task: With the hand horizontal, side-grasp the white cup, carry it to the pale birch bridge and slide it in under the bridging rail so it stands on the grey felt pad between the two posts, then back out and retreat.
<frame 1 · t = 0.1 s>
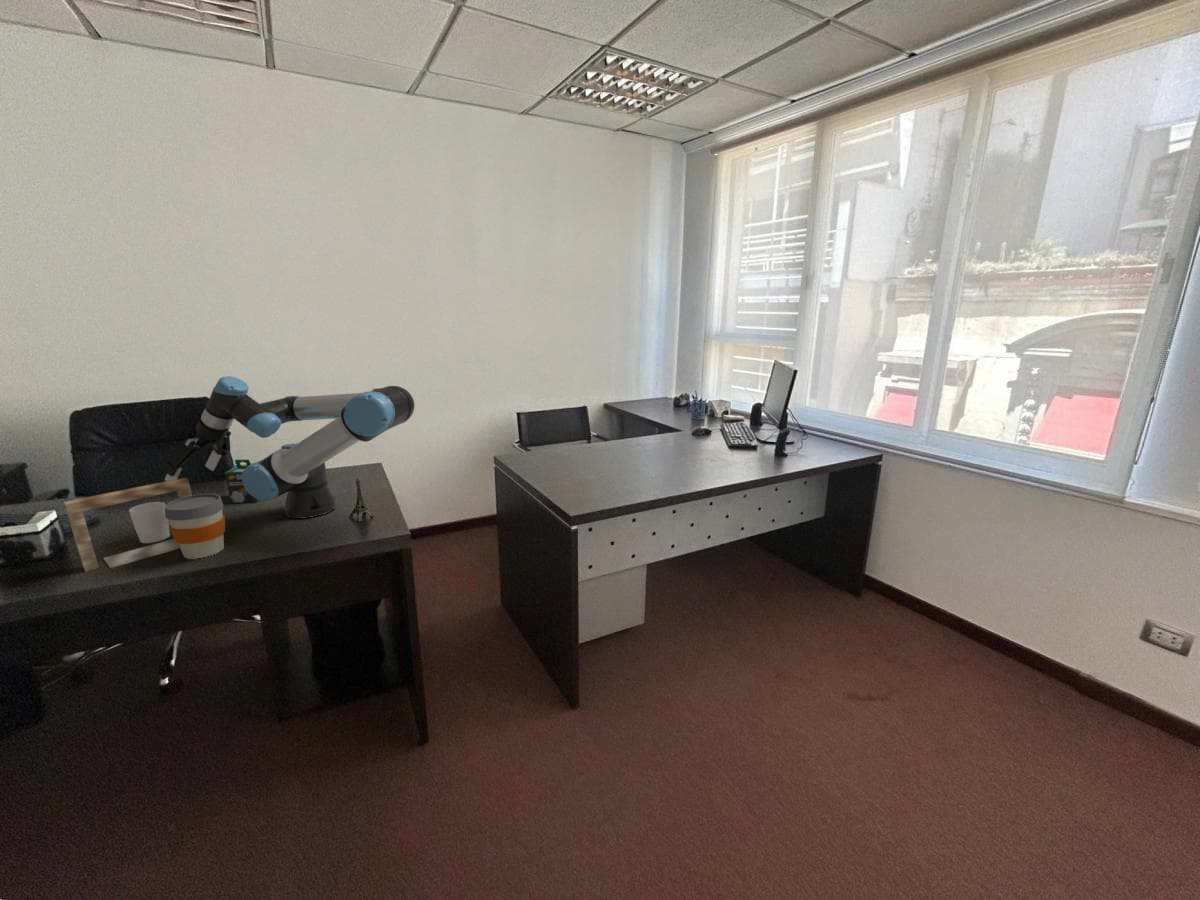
hand: (190, 474, 156), 15 cm above the table, tool tilted 35°, fingers open, 13 cm apart
reusable coffee cup: (204, 552, 140), on the table
white cup: (155, 539, 147), on the table
chalk box: (251, 498, 179), on the table
bridge: (146, 552, 139), on the table
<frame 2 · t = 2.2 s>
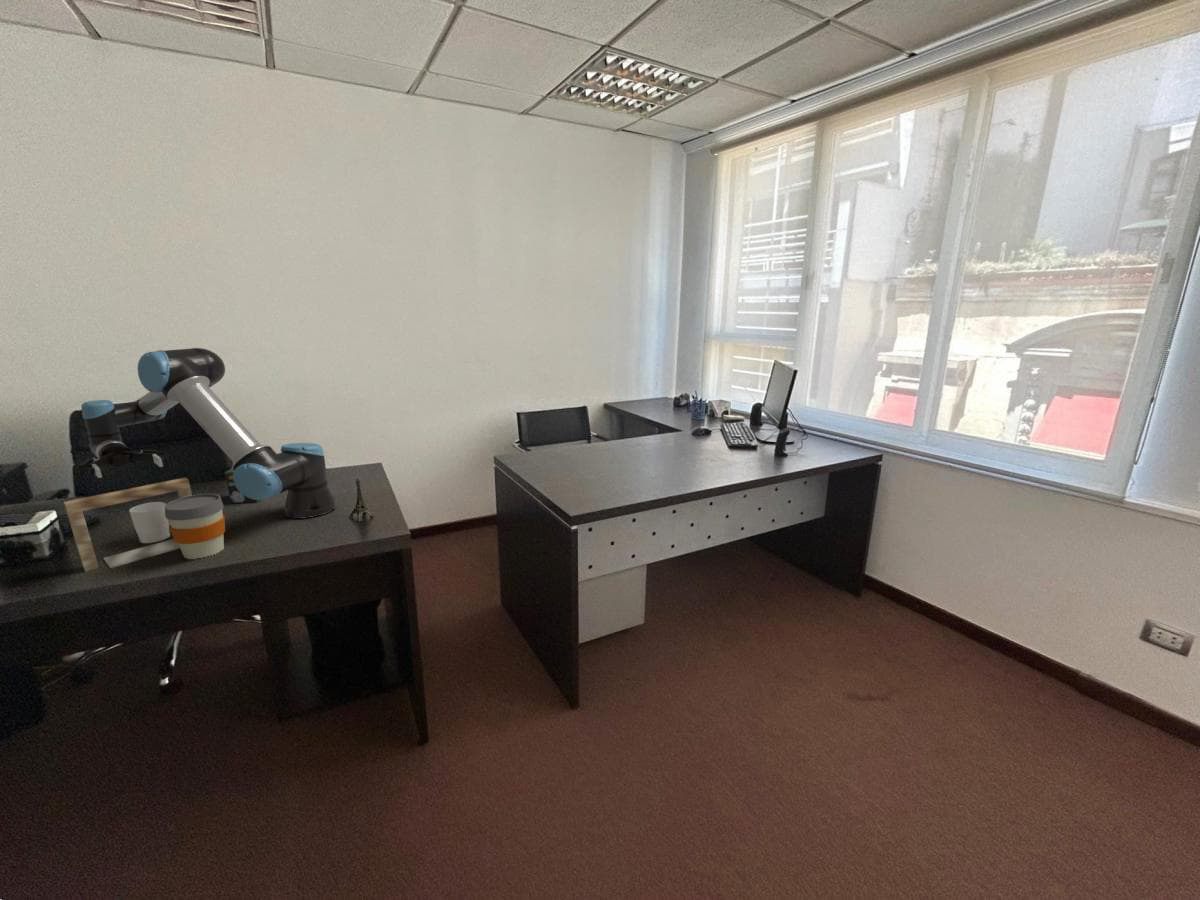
hand: (130, 467, 147), 20 cm above the table, tool horizontal, fingers open, 13 cm apart
nothing on the table moved.
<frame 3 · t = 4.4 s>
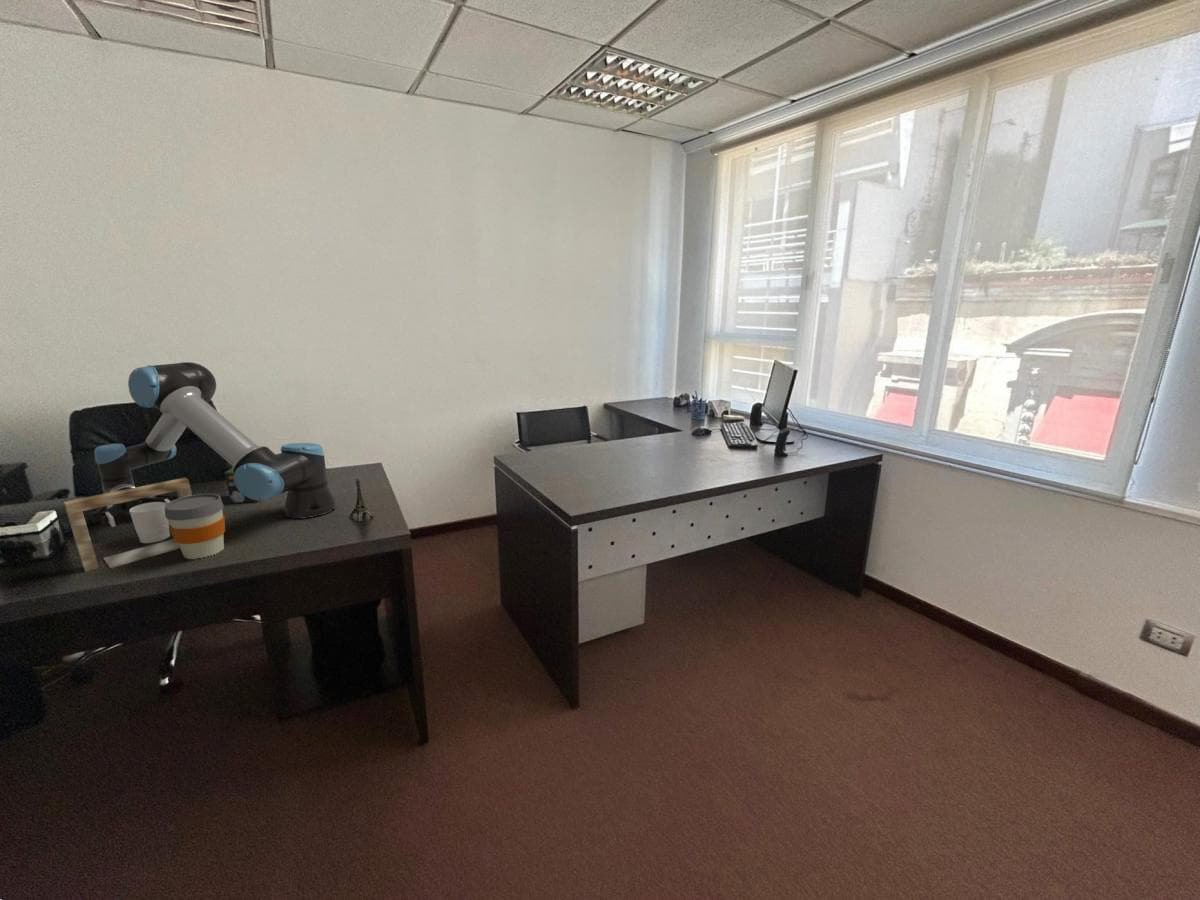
hand: (143, 515, 149), 6 cm above the table, tool horizontal, fingers open, 13 cm apart
nothing on the table moved.
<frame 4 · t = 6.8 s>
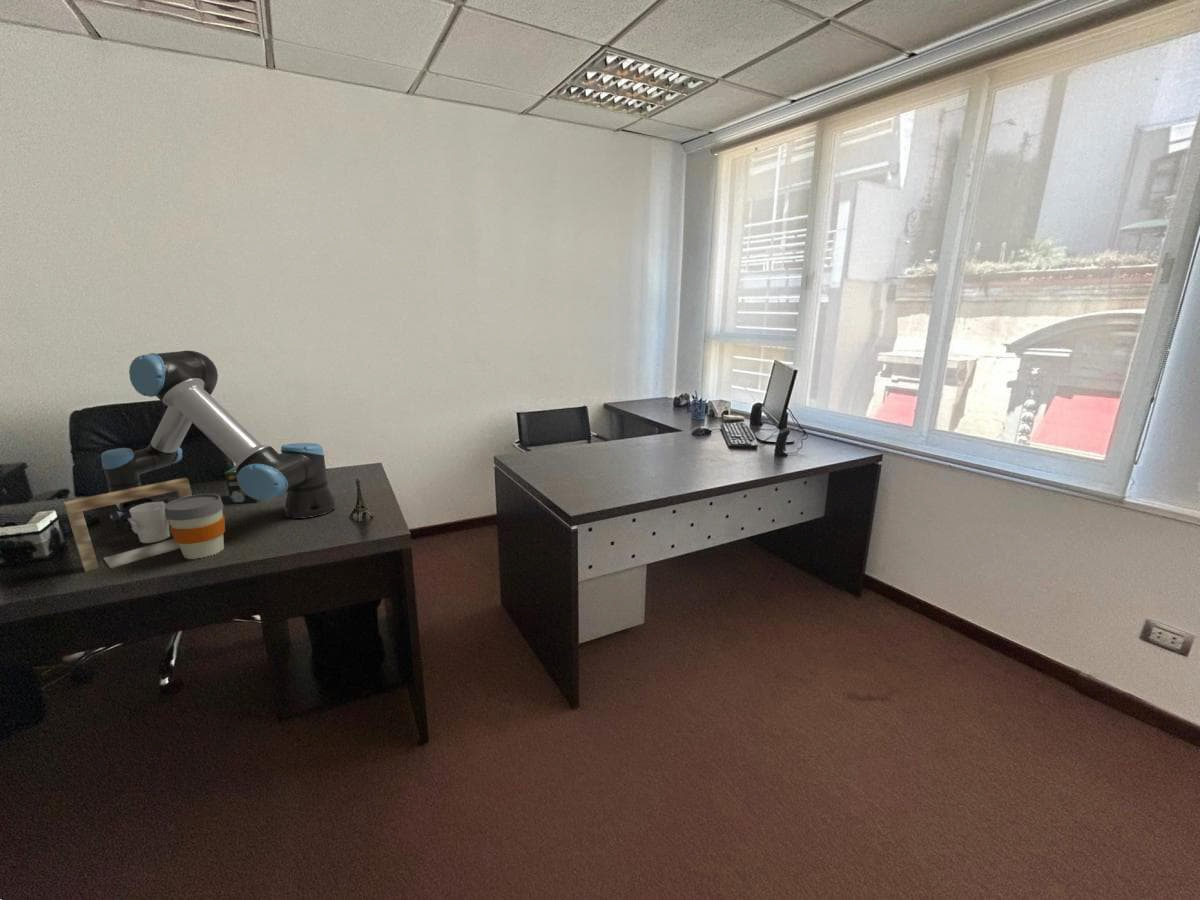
hand: (155, 523, 143), 6 cm above the table, tool horizontal, fingers closed on white cup, 7 cm apart
white cup: (155, 539, 147), on the table, touching gripper
everything else where it was.
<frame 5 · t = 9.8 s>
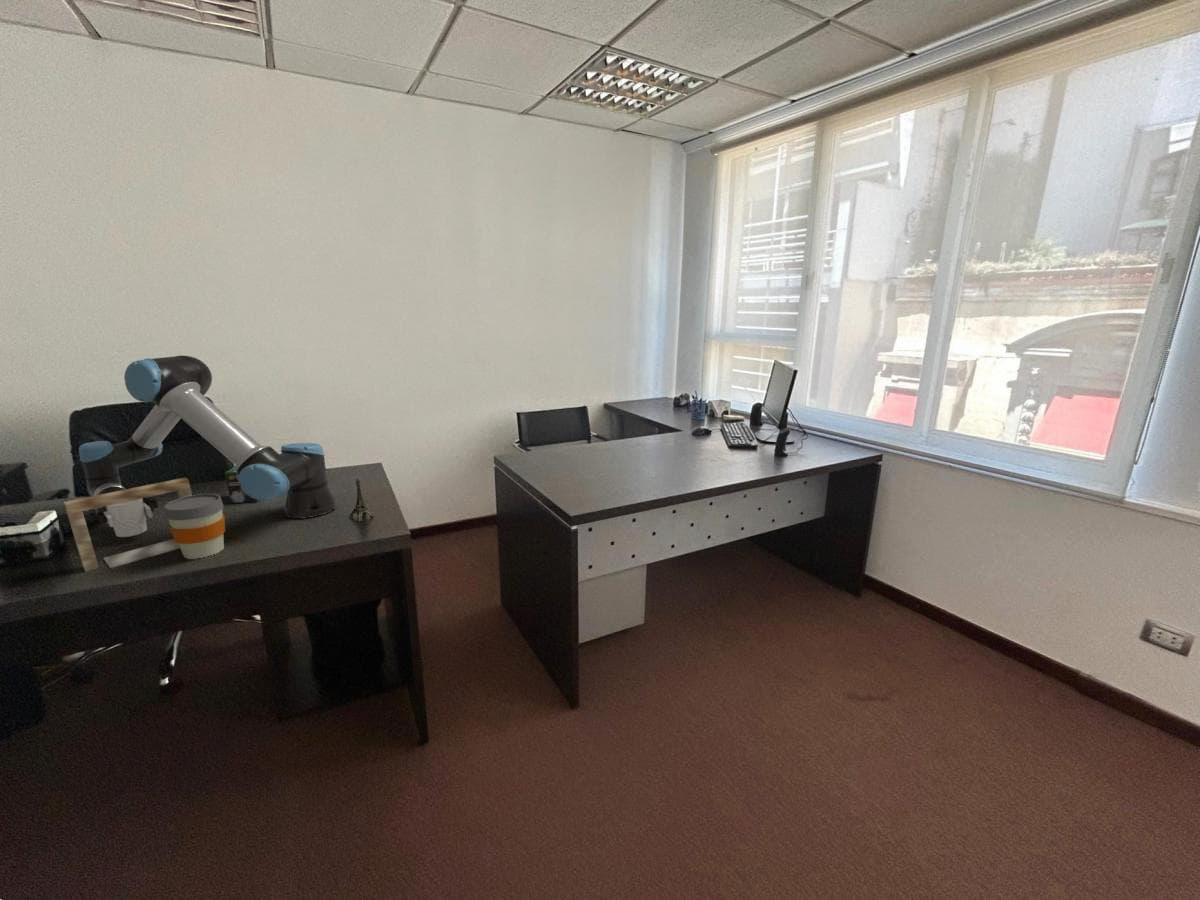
hand: (131, 517, 141), 8 cm above the table, tool horizontal, fingers closed on white cup, 7 cm apart
white cup: (132, 532, 146), point 2 cm above the table, touching gripper
everything else where it was.
when the fingers open (7 cm above the table, at t = 12.9 s): white cup drops 1 cm, resting on bridge.
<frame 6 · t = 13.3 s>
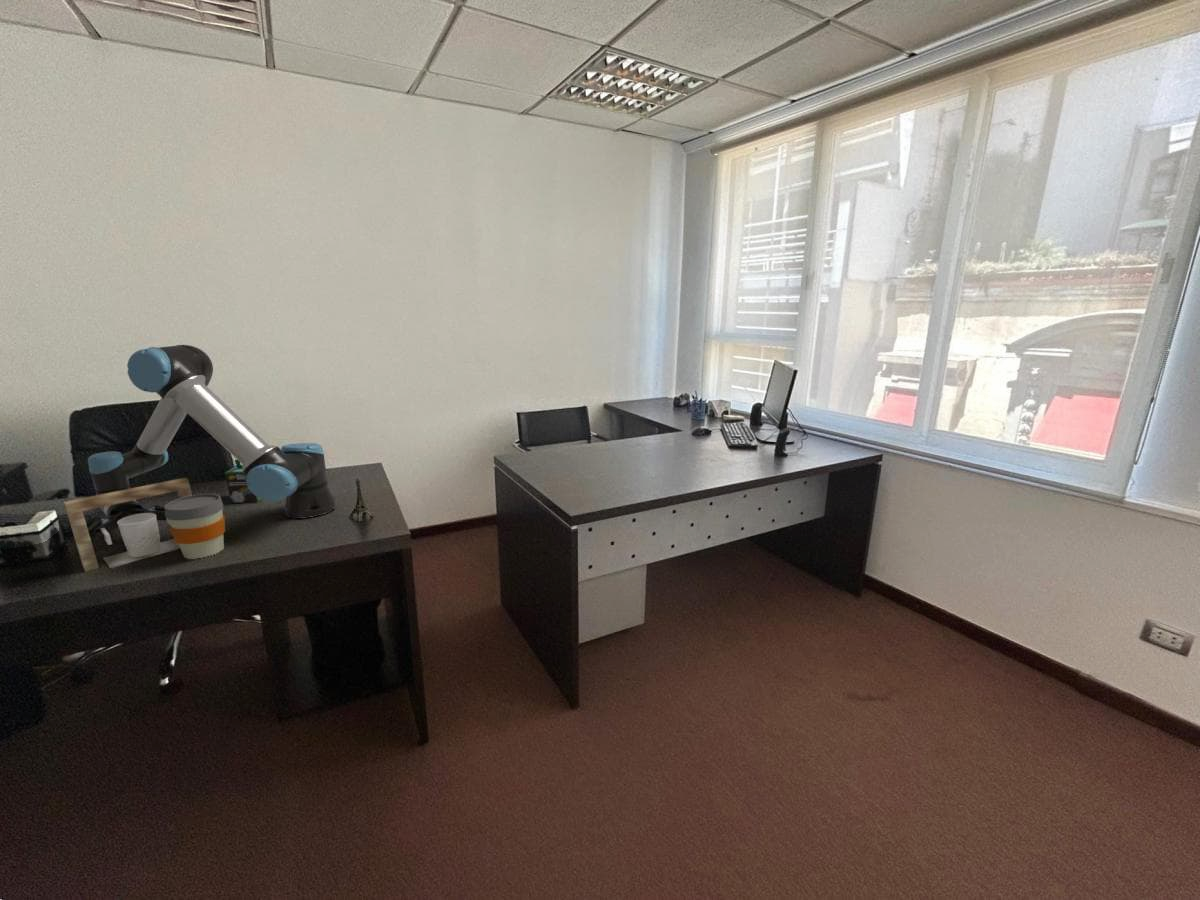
hand: (142, 531, 135), 7 cm above the table, tool horizontal, fingers open, 13 cm apart
white cup: (145, 552, 139), resting on bridge
everything else where it was.
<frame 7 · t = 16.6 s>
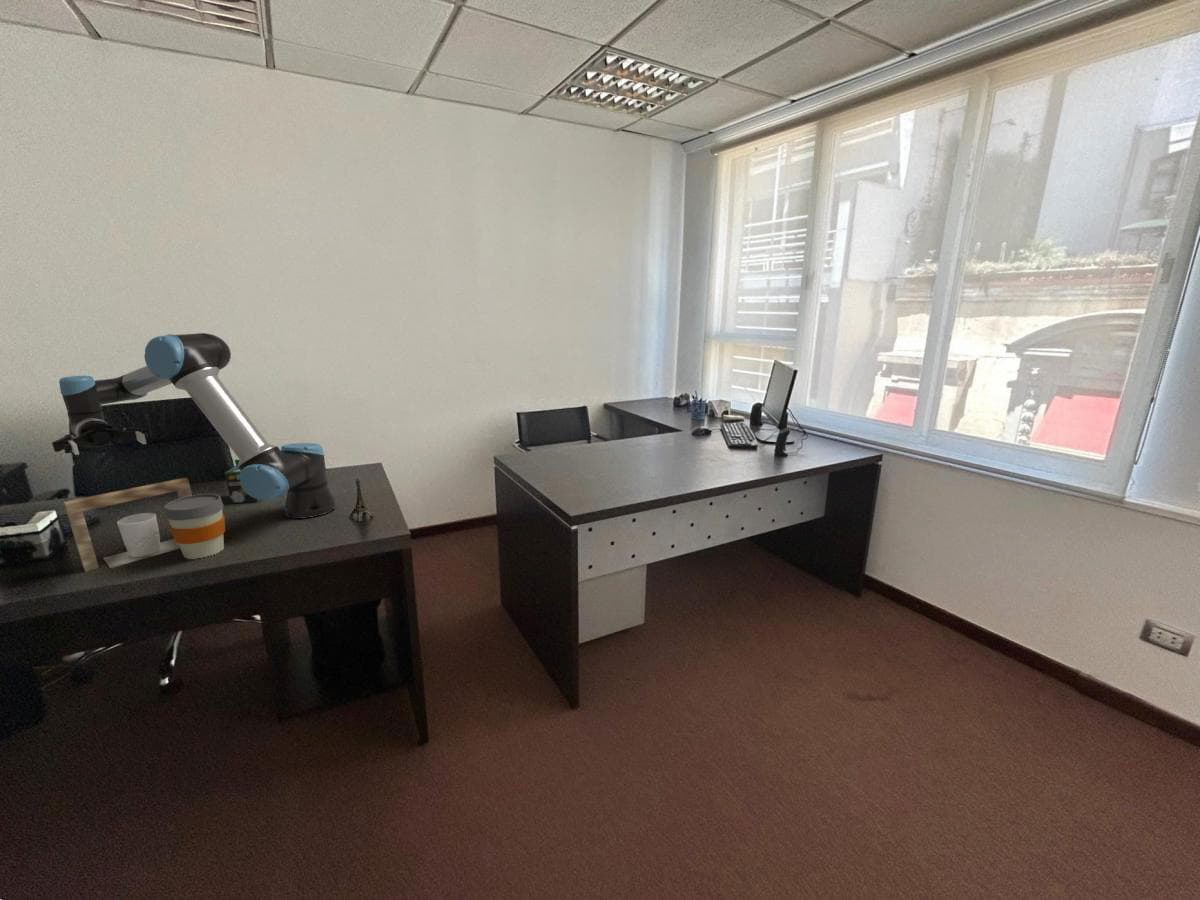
hand: (111, 444, 136), 29 cm above the table, tool horizontal, fingers open, 13 cm apart
nothing on the table moved.
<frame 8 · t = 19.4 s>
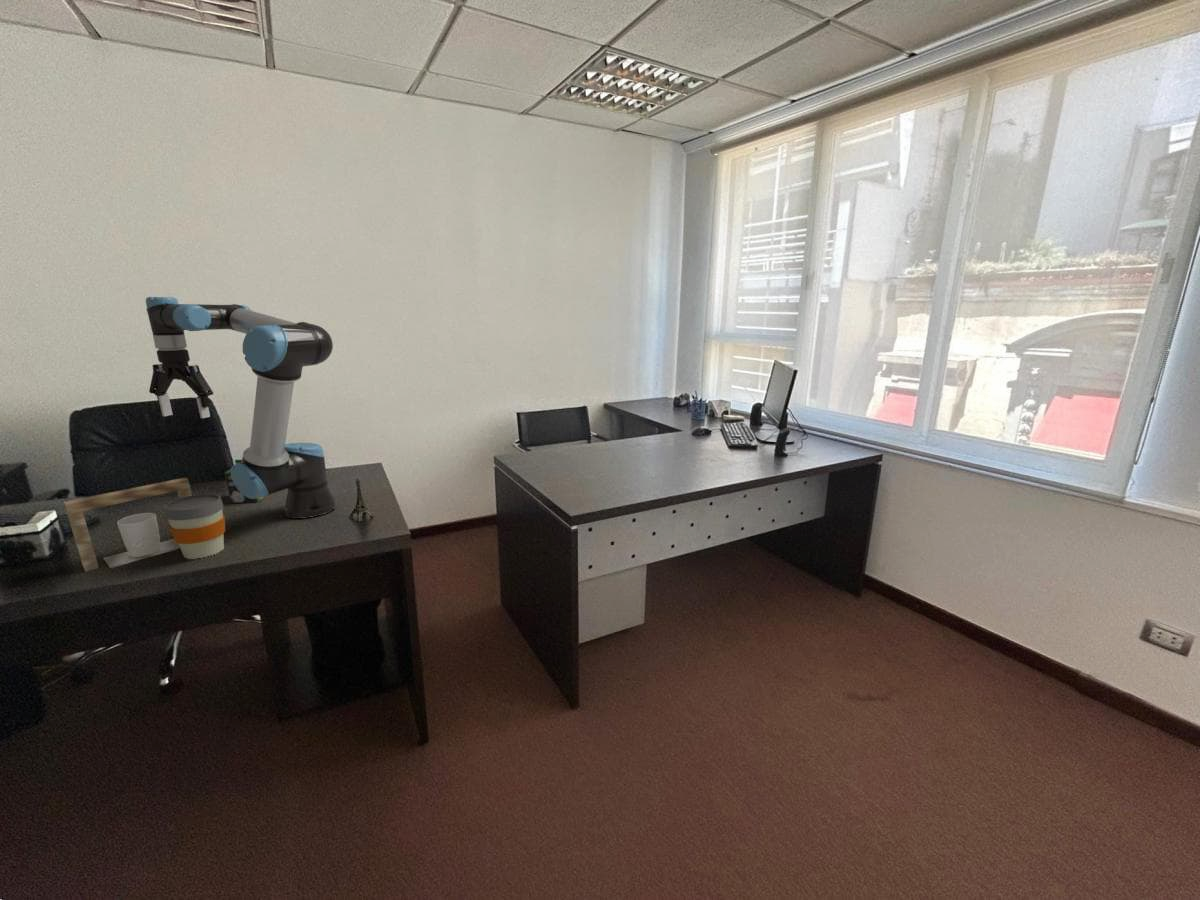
hand: (186, 416, 160), 32 cm above the table, tool pointing down, fingers open, 13 cm apart
nothing on the table moved.
at the end: white cup 0.2 cm from the bridge (horizontally); white cup tilted 0°; the gripper is holding nothing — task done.
